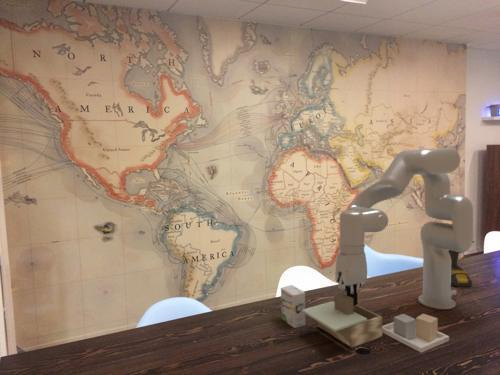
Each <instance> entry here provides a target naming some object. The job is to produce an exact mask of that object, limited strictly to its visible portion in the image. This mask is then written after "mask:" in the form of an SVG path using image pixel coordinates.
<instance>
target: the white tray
mask: <svg viewBox="0 0 500 375" xmlns="http://www.w3.org/2000/svg"><path fill="white" fill-rule="evenodd" d="M382 334H385V335H387V337H390V338H392V339H393V340H396V341H398V342H400V343H402V344H403V345H406V346H408V347H409V348H411V349H413V350H415V351H416V352H418V353H421V354H422V353H424V352H426V351H428V350H430V349H433V348H436V347H438V346H440V345H442V344H445V343H447V342H449V341H450V336H449V335H447V334H445V333H443V332H441V331H437V338H435V339H434V340H432V341H431V342H430V341H427V340H424V339H422V338H419V337H417V336H416V338H414V339H411V340H407V339H405V338H403V337H401V336H399V335H397V334H395V333H394V321H392V322H390V323H386V324H384V325H382Z"/></svg>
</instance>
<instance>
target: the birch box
mask: <svg viewBox="0 0 500 375" xmlns="http://www.w3.org/2000/svg"><path fill="white" fill-rule="evenodd" d="M353 312H355V313H357V314H359V315H361V316H363V317H365V318H367V321H365V322H362V323H359V324H356V325H353V326H350V327H347V328H344V329H341V330H338V331H335V332H334V331H333V330H331V329H329V328H328V327H326V326H324V325H323V324H321V323H320V322H318V321H317V327H318V328H320V329H321V330H323V331H324V332H326V333H328V334H329V335H331V336H332V337H334V338H335V339H337V340H339V341H340V342H341V343H342V344H345V345H346V346H348V347H350V348H355V347H358V346H360V345H364V344H366V343H369V342H370V341H373V340H376V339H379V338H382V337H383V333H382V326H383V316H381V315H380V314H378V313H375V312H374V311H371V310H369V309H367V308H364V307H363V306H362V305H361V306H360V305H359V304H357V305H355V306H353Z"/></svg>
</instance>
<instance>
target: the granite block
mask: <svg viewBox="0 0 500 375" xmlns="http://www.w3.org/2000/svg"><path fill="white" fill-rule="evenodd" d="M393 322H394V333H395V334H397V335H399V336H401V337H403V338H405V339H407V340H411V339H414V338H416V318H413V317H412V316H409V315H407V314H405V313H402V314H399V315H395V316H394V317H393Z"/></svg>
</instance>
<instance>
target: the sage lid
mask: <svg viewBox="0 0 500 375" xmlns="http://www.w3.org/2000/svg"><path fill="white" fill-rule="evenodd" d="M333 297H334V301H333V300H332V301H328V302H324V303H322V304H318V305H315V306H310V307H305V309H303V310H302V312H303V313H305V315H306V316H308V317H310V318H311V319H313V320H315V321H317V323H318V322H320V323H321V324H323V325H324V326H326V327H328V328H329V329H331V330H333V331H334V332H335V331H338V330H341V329H344V328H347V327H350V326H353V325H356V324H359V323H362V322H365V321H367V318H365V317H363V316H361V315H359V314H357V313H355V312H353V298H352V297H350V296H347V294H345V293H343V292H340V291H339V292H335V293H334V296H333Z"/></svg>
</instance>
